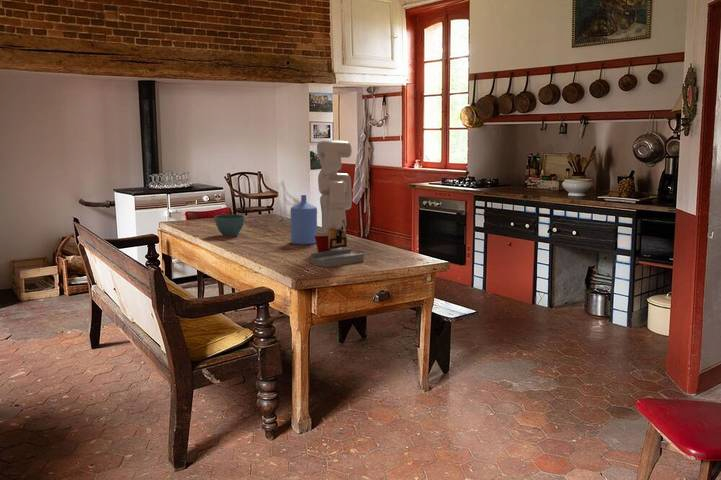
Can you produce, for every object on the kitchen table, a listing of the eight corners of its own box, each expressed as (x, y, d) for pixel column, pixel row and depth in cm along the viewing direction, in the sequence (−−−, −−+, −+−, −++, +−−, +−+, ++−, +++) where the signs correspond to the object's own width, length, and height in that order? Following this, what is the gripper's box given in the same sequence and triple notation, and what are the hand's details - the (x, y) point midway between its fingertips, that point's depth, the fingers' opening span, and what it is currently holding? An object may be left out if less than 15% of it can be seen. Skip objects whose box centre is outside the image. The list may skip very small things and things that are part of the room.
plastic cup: (323, 252, 356) (323, 231, 354) (338, 255, 350) (338, 233, 348) (309, 255, 348) (309, 233, 346) (324, 258, 341) (324, 235, 339)
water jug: (313, 245, 379) (313, 197, 375) (287, 244, 382) (286, 196, 378) (320, 240, 394) (320, 194, 390) (295, 239, 398) (294, 193, 393)
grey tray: (311, 263, 328) (310, 253, 328) (349, 257, 343) (349, 248, 342) (324, 267, 319) (324, 257, 318) (363, 261, 334) (363, 251, 333)
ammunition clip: (329, 249, 326) (329, 225, 324) (327, 248, 327) (327, 224, 325) (346, 246, 332) (346, 223, 330) (344, 246, 334) (344, 222, 332)
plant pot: (248, 233, 420) (247, 214, 418) (240, 238, 402) (239, 218, 400) (220, 233, 422) (219, 214, 420) (211, 237, 404) (210, 218, 402)
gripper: (321, 205, 330) (322, 241, 333) (340, 208, 318) (340, 245, 321) (334, 204, 335) (334, 240, 338) (353, 207, 323) (353, 244, 326)
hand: (337, 242), depth 329 cm, fingers closed on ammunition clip, 2 cm apart
